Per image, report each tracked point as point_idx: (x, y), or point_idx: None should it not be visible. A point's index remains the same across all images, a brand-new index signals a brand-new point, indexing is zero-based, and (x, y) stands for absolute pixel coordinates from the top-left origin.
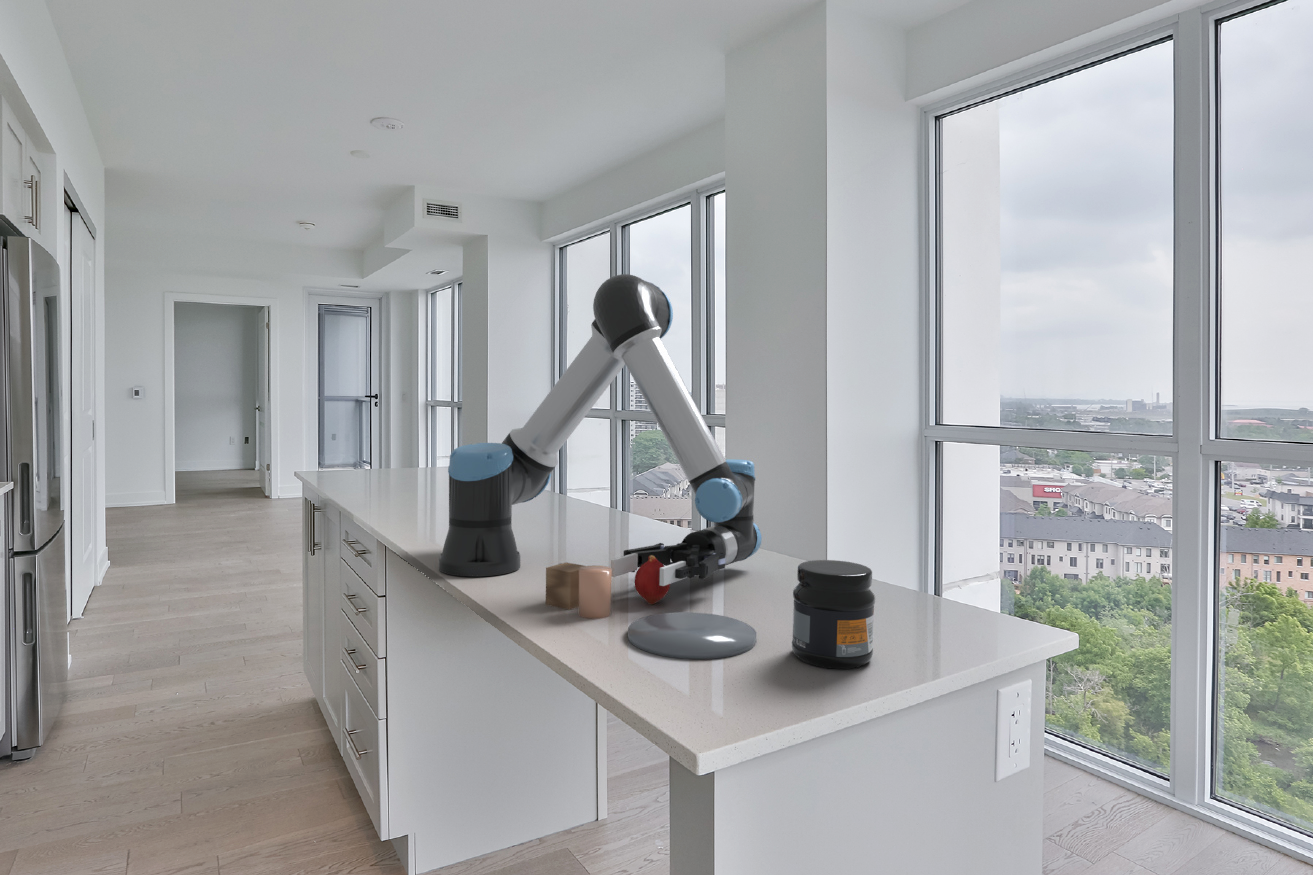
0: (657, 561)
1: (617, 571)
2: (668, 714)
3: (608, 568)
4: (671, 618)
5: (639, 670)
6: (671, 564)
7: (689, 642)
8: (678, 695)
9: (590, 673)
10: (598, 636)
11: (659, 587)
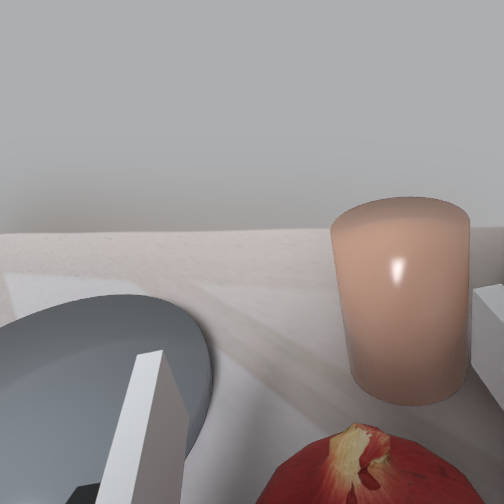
0: (316, 493)
1: (487, 366)
2: (21, 245)
3: (373, 250)
4: None
5: (92, 271)
6: (137, 446)
7: (20, 347)
8: (17, 267)
9: (152, 236)
10: (244, 292)
11: None
